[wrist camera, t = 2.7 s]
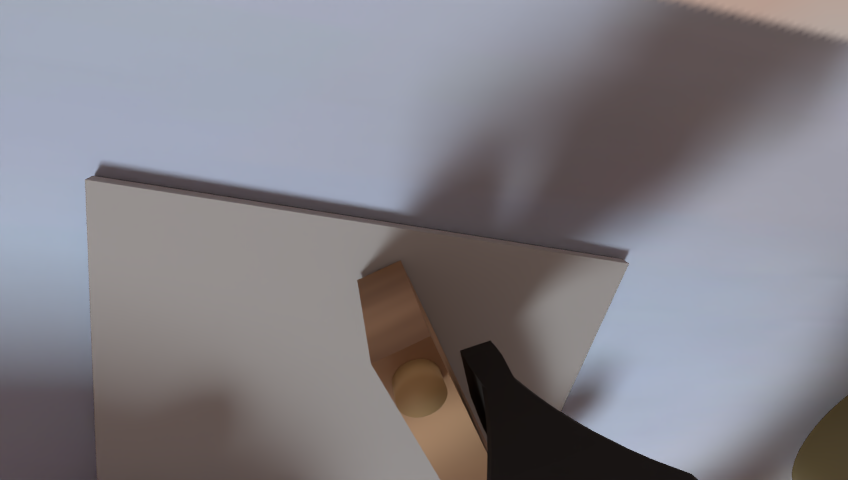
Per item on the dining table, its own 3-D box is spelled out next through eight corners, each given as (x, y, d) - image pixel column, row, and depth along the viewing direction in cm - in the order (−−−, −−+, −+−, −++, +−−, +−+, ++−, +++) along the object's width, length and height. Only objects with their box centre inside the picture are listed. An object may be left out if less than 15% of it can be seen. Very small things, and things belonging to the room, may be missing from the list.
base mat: (496, 535, 21) (499, 543, 21) (105, 568, 16) (100, 579, 16) (621, 258, 16) (629, 263, 15) (93, 175, 11) (85, 179, 10)
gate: (499, 469, 18) (551, 588, 14) (469, 484, 18) (512, 608, 14) (400, 260, 13) (437, 352, 9) (357, 280, 13) (373, 382, 9)
